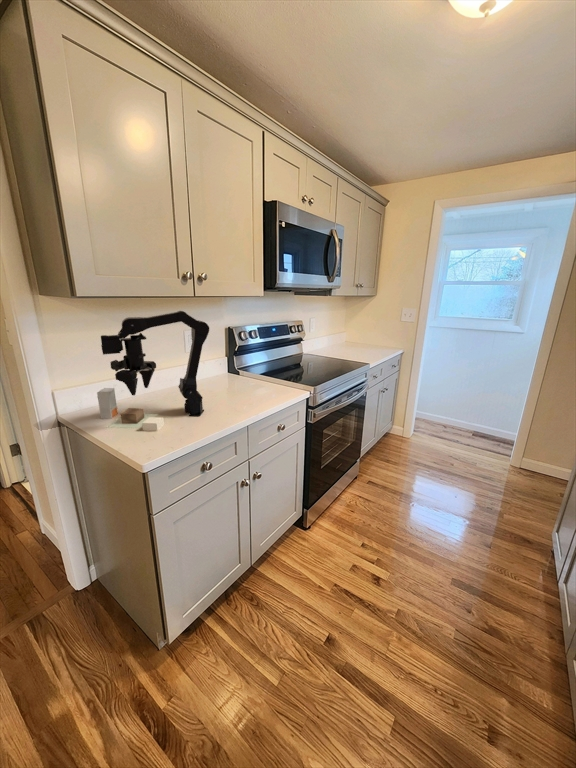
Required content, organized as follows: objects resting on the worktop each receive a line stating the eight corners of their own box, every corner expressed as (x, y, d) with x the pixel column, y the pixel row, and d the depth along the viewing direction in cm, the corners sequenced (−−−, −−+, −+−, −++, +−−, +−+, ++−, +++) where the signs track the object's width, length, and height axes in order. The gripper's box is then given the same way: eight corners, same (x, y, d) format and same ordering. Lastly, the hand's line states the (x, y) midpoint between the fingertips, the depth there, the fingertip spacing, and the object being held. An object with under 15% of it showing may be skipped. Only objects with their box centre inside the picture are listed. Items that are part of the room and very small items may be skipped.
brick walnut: (144, 417, 128) (143, 408, 127) (137, 423, 122) (135, 414, 121) (130, 417, 128) (128, 408, 127) (121, 423, 122) (120, 413, 121)
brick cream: (164, 427, 122) (163, 417, 121) (157, 433, 117) (156, 423, 115) (150, 426, 122) (149, 417, 121) (143, 432, 117) (142, 423, 116)
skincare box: (112, 420, 127) (107, 392, 124) (101, 420, 127) (96, 392, 123) (118, 414, 133) (114, 387, 129) (108, 414, 132) (103, 387, 129)
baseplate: (158, 416, 132) (158, 414, 132) (142, 430, 118) (142, 428, 118) (125, 415, 132) (125, 413, 132) (106, 429, 119) (105, 427, 119)
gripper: (128, 347, 127) (133, 383, 132) (97, 356, 110) (105, 399, 114) (154, 347, 127) (159, 384, 131) (127, 357, 109) (134, 399, 113)
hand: (140, 391), depth 123 cm, fingers open, 9 cm apart
